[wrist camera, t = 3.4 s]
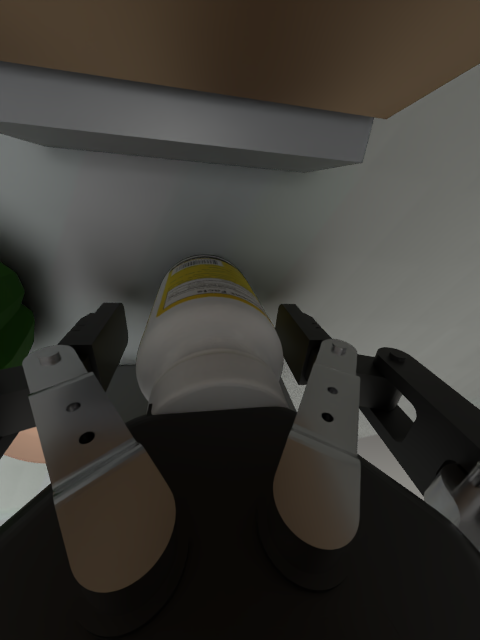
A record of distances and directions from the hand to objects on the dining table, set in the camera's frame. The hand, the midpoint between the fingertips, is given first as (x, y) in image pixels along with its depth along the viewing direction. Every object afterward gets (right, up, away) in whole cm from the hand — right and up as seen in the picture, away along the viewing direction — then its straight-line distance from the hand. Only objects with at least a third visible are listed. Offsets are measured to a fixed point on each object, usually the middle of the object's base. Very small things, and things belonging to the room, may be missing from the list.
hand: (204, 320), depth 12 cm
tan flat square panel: (+1, +3, -13) cm, 13 cm away
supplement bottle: (0, +2, +3) cm, 3 cm away
